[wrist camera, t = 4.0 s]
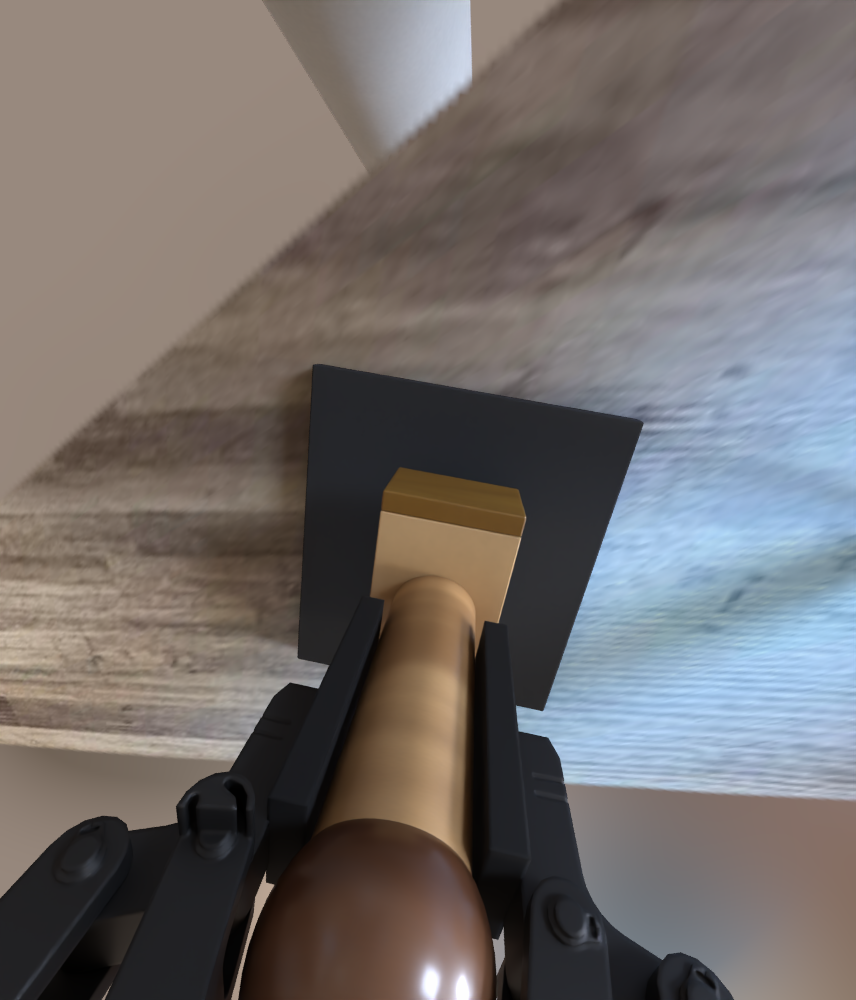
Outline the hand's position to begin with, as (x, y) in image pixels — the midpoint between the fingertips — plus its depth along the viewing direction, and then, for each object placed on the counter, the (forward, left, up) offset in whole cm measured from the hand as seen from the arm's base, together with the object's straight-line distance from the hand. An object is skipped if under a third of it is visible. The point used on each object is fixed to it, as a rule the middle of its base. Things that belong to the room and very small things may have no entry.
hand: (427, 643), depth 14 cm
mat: (0, 0, -7) cm, 7 cm away
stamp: (0, 0, -5) cm, 5 cm away
